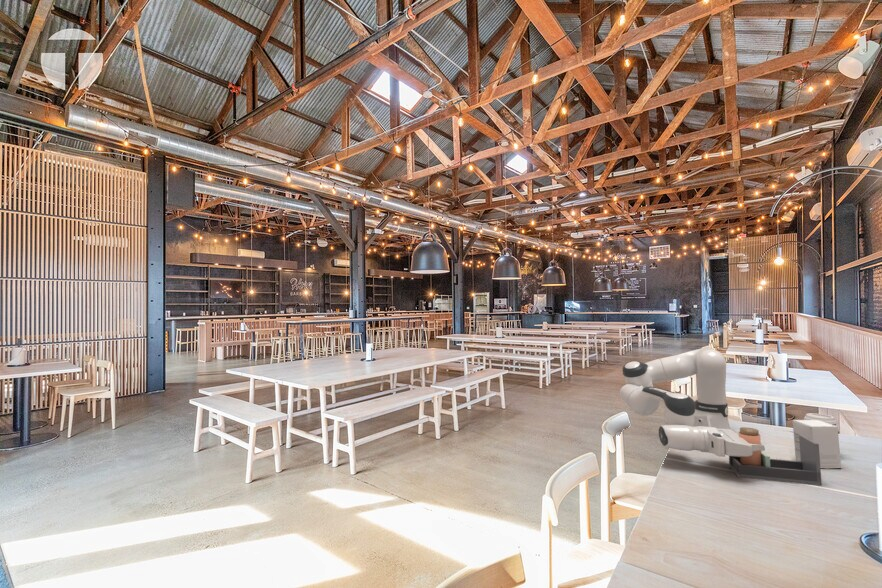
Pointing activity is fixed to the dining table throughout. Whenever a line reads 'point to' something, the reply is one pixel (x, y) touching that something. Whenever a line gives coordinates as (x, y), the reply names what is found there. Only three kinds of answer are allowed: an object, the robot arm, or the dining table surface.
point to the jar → (752, 438)
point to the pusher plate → (765, 459)
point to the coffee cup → (821, 418)
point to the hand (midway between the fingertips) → (757, 443)
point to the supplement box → (819, 441)
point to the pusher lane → (785, 466)
